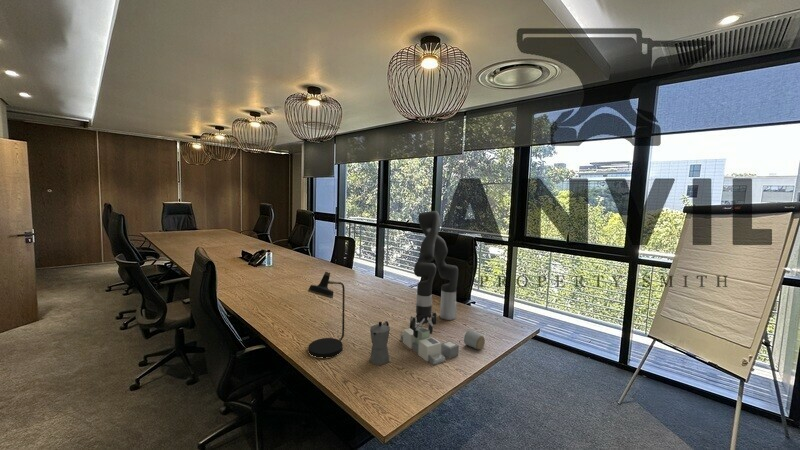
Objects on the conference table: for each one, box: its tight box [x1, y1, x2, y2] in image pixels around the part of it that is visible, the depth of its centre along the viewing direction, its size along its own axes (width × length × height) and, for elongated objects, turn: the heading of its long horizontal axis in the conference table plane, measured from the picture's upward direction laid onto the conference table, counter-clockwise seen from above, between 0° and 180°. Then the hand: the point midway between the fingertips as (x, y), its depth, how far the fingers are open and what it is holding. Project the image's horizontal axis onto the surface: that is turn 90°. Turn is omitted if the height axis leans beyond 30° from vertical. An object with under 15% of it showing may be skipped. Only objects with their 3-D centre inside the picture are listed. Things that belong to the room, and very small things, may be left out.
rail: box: [400, 333, 446, 366], centre depth 153 cm, size 7×28×3 cm, turn 31°
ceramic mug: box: [463, 329, 486, 350], centre depth 159 cm, size 11×8×8 cm
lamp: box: [307, 271, 346, 358], centre depth 150 cm, size 16×22×38 cm
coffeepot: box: [369, 320, 391, 366], centre depth 143 cm, size 15×9×18 cm, turn 159°
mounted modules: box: [402, 327, 442, 362], centre depth 153 cm, size 8×20×7 cm, turn 31°
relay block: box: [441, 340, 460, 360], centre depth 150 cm, size 6×6×5 cm
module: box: [416, 326, 431, 346], centre depth 153 cm, size 4×5×8 cm
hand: (422, 335), depth 153 cm, fingers open, 8 cm apart
